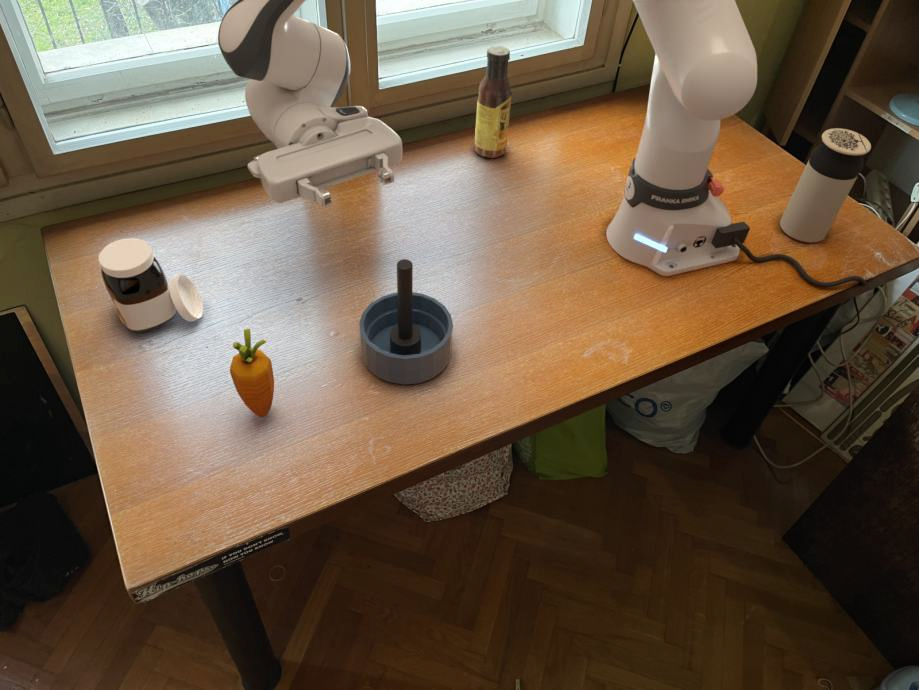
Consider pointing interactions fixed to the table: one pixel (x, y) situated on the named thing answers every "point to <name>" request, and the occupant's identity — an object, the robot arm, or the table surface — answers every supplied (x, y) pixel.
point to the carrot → (253, 376)
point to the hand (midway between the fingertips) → (358, 190)
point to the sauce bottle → (493, 105)
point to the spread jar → (145, 287)
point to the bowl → (434, 339)
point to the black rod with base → (405, 314)
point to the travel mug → (824, 184)
